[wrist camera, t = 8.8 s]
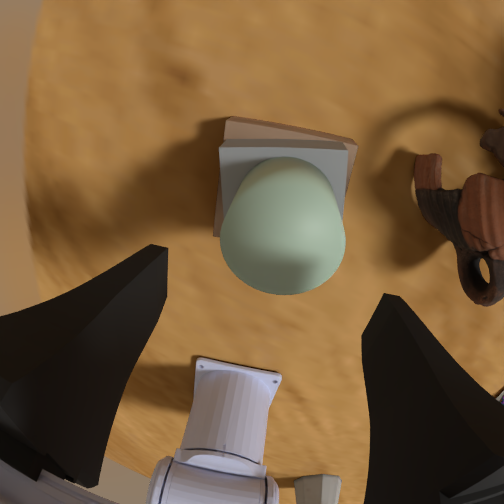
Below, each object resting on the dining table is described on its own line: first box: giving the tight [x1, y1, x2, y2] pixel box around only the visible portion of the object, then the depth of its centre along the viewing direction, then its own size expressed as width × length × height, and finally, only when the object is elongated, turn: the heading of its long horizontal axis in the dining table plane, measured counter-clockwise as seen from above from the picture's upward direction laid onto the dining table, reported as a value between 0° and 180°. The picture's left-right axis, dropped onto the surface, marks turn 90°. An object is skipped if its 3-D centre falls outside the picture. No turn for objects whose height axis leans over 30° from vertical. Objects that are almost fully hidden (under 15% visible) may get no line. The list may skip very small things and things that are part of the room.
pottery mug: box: [414, 109, 504, 306], centre depth 15 cm, size 12×10×8 cm
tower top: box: [219, 139, 348, 220], centre depth 16 cm, size 6×6×2 cm
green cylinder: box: [220, 157, 345, 295], centre depth 14 cm, size 5×5×4 cm
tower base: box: [213, 116, 358, 237], centre depth 18 cm, size 7×7×2 cm
